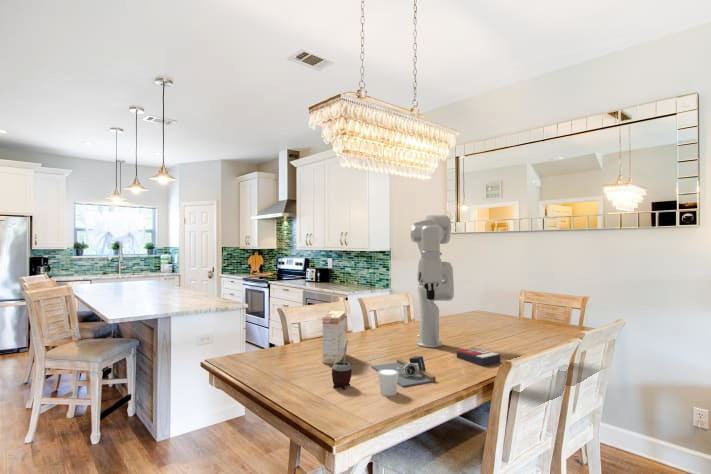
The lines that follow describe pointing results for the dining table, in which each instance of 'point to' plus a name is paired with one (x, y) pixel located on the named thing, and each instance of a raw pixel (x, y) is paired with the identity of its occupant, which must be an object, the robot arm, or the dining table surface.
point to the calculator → (479, 356)
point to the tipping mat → (407, 381)
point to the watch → (412, 367)
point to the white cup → (388, 381)
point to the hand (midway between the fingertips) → (430, 299)
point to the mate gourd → (341, 373)
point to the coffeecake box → (333, 336)
